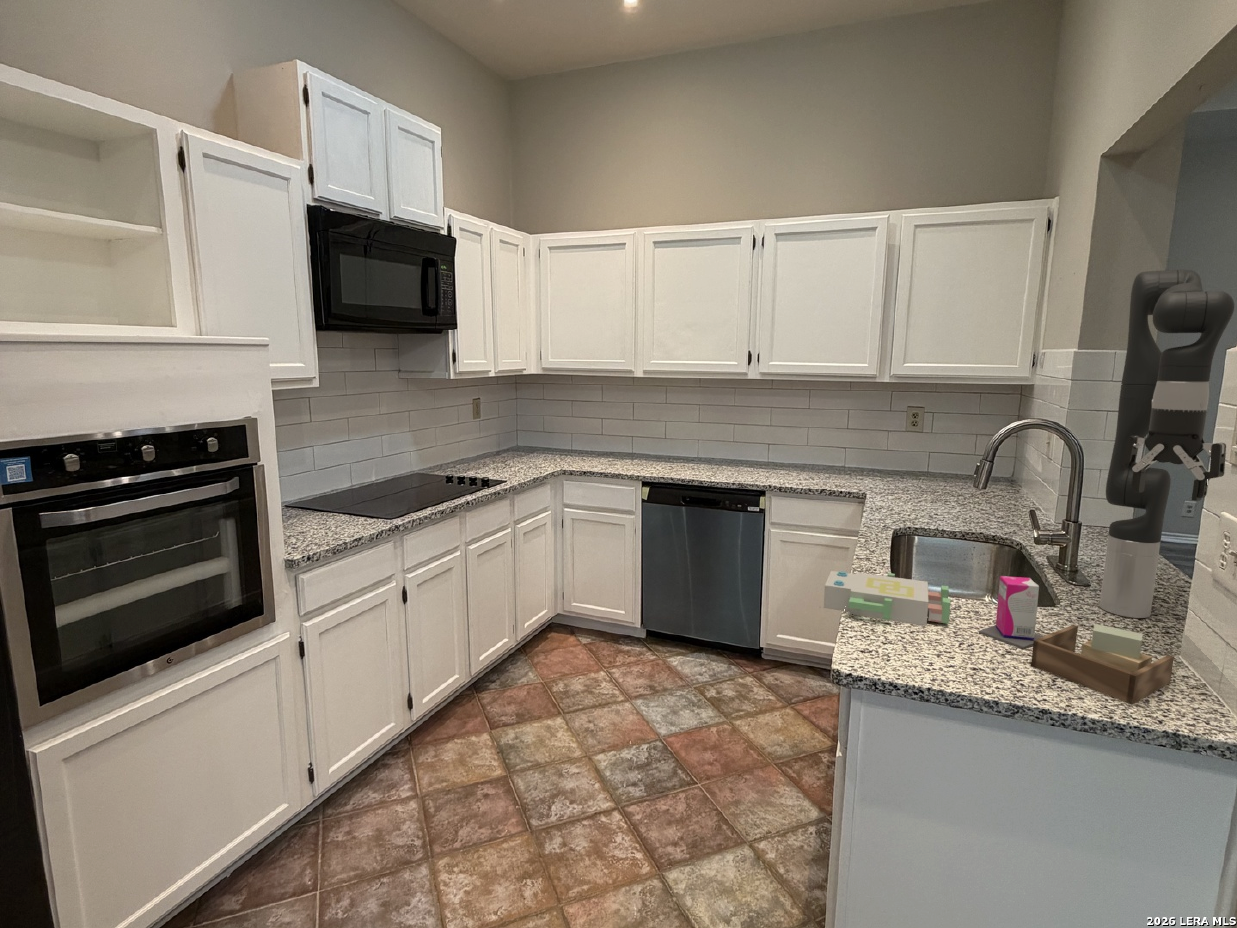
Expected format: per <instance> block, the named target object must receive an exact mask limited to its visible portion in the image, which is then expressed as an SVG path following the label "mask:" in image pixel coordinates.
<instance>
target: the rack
mask: <svg viewBox="0 0 1237 928" xmlns="http://www.w3.org/2000/svg"><path fill="white" fill-rule="evenodd" d="M1078 629H1079V626H1078V625H1076V624H1071V625H1069V626H1066V627H1064V628H1062V629H1059V630H1057V631H1054V632H1052V633H1049V634H1046V635H1043V636H1044V637H1041V638H1038V639H1036V640H1034V642H1033V646H1032V652H1031V660H1030V661H1031V662H1030V667H1033V668H1036V669H1039V670H1041V671H1044V672H1046V673H1048V674H1052V675H1054V676H1057V677H1058V678H1062V679H1064V680H1067V681H1070V682H1073V683H1075V684H1077V685H1080V686H1083V687H1086V688H1088V689H1090V690H1093V691H1095V692H1099V693H1101V694H1103V695H1107V696H1109V697H1112V698H1114V699H1116V700H1120V701H1122V702H1124V703H1128V704H1130V705H1134V704H1135V703H1137V702H1139V701H1141V700H1143V699H1144V698H1146V697H1148V696H1149V695H1151V694H1154V693H1155V692H1157V691H1158V690H1160V689H1163V688H1164V687H1166V686H1167V685H1169V684H1171V681H1172V680H1171V679H1172V673H1173V667H1174V661H1175V660H1174V658H1175V656H1174V655H1171V654H1167V655H1165V656H1163V657H1161V658H1159V659H1158V660H1155V661H1154V662H1151V664H1149V665H1147V666H1145V667H1143V668H1141V669H1139V670H1138V671H1136V672H1134V673H1132V672H1129V671H1126V670H1124V669H1121V668H1118V667H1115V666H1112V665H1109V664H1106V663H1103V662H1101V661H1098V660H1095V659H1092V658H1089V657H1086V656H1083V655H1081V653H1077V652H1074V651H1076V645H1077V638H1078Z"/></svg>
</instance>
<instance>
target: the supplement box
mask: <svg viewBox="0 0 1237 928" xmlns="http://www.w3.org/2000/svg"><path fill="white" fill-rule="evenodd" d="M1039 590H1040V586H1039V584H1037V583H1036V582H1034V581H1033V580H1032V578H1031V577H1020V576H1018V577H1017V576H1008V575H1007V576H1006V575H1000V577H999V583H998V592H997V593H998V595H997V608H996V620H995V625H996V628H997V629H998V630H999V632H1000V633H1001V635H1002V636H1003V637H1005V638H1015V639H1025V640H1034V637H1035V633H1036V627H1037V626H1036V625H1037V614H1038V602H1039V592H1040V591H1039Z"/></svg>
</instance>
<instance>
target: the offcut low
mask: <svg viewBox="0 0 1237 928" xmlns="http://www.w3.org/2000/svg"><path fill="white" fill-rule="evenodd" d="M1091 644H1092V639H1091V640H1088V641H1086V642H1082V644H1081V653H1080V655H1083V656H1086V657H1089V658H1092V659H1095V660H1098V661H1101V662H1103V663H1106V664H1109V665H1112V666H1115V667H1118V668H1121V669H1124V670H1126V671H1129V672H1132V673H1134V672H1136V671H1138V670H1139V669H1141V668H1143V667H1145V666H1147V665H1149V664H1151V663H1153V662H1152V659H1153V656H1151V655H1148V654H1144V653H1142V652H1140V657H1139V659H1135V658H1131V657H1126V656H1122V655H1118V654H1114V653H1109V652H1105V651H1101V650H1096V649H1092V648H1091Z"/></svg>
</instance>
